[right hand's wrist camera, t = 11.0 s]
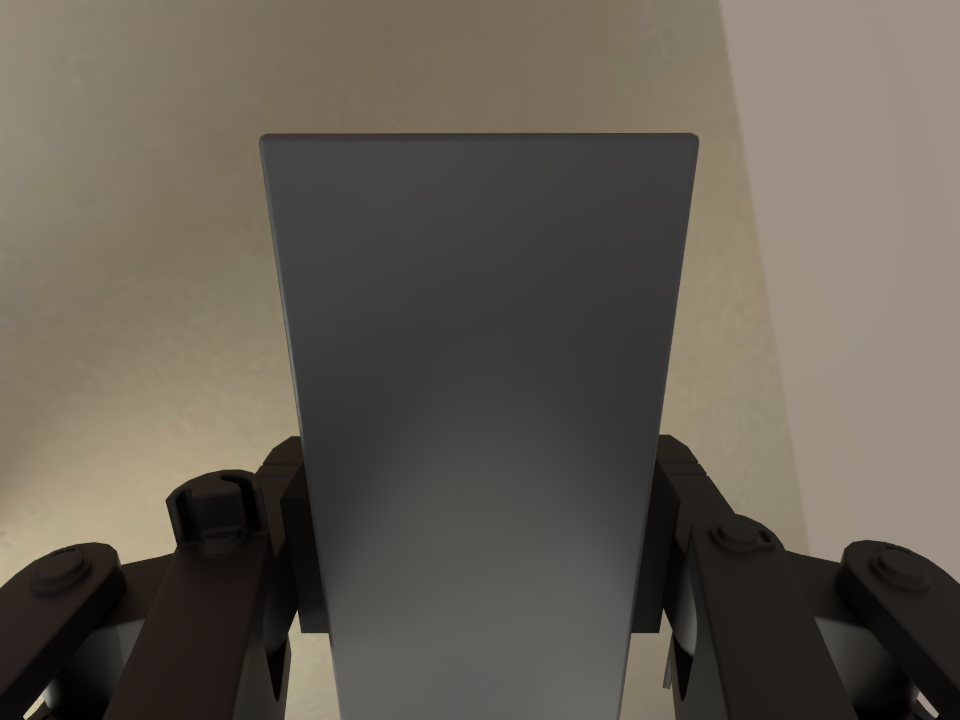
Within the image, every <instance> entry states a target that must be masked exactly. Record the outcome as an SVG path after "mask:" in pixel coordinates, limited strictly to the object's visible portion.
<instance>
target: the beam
mask: <svg viewBox="0 0 960 720" xmlns="http://www.w3.org/2000/svg"><path fill="white" fill-rule="evenodd" d="M259 147H260V154H261V161H262V168H263V175H264V182H265V189H266V196H267V203H268V211H269V218H270V225H271V232H272V239H273V246H274V253H275V260H276V267H277V274H278V281H279V288H280V295H281V302H282V309H283V316H284V323H285V330H286V337H287V344H288V351H289V358H290V365H291V372H292V379H293V386H294V394H295V401H296V408H297V415H298V422H299V429H300V436H301V443H302V450H303V457H304V464H305V471H306V478H307V485H308V492H309V499H310V506H311V513H312V520H313V527H314V534H315V541H316V548H317V555H318V562H319V570H320V577H321V584H322V591H323V598H324V605H325V612H326V619H327V626H328V633H329V640H330V647H331V654H332V661H333V668H334V675H335V682H336V689H337V696H338V703H339V710H340V717H341V720H619V719H620V711H621V704H622V697H623V690H624V682H625V675H626V668H627V661H628V654H629V646H630V639H631V632H632V625H633V617H634V610H635V603H636V596H637V589H638V581H639V574H640V567H641V560H642V552H643V545H644V538H645V531H646V524H647V516H648V509H649V502H650V495H651V487H652V480H653V473H654V466H655V459H656V451H657V444H658V437H659V430H660V422H661V415H662V408H663V401H664V394H665V386H666V379H667V372H668V365H669V357H670V350H671V343H672V336H673V329H674V321H675V314H676V307H677V300H678V292H679V285H680V278H681V271H682V264H683V256H684V249H685V242H686V235H687V227H688V220H689V213H690V206H691V198H692V191H693V184H694V177H695V170H696V162H697V155H698V148H699V139H698V136H696V135H694V134H692V133H393V134H265V135H263V136H261V137H260V141H259Z"/></svg>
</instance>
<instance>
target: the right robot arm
mask: <svg viewBox="0 0 960 720" xmlns="http://www.w3.org/2000/svg"><path fill="white" fill-rule="evenodd" d="M166 504H167V508H168V512H169V516H170V520H171V523H172V527H173V531H174V535H175V539H176V543H177V547H176V550H175V552H174V553H172V554H168V555H165V556H161V557H156V558H152V559H147V560H142V561H138V562H133V563H128V564H124V565H121V563H120V560H119V557H118V554H117V551H116V550H115V549H114V548H112V547H111V546H110V545H109V544H103V543H97V542H92V543H83V544H75V545H72V546H68V547H66V548H61V549H58V550H56V551H53V552H51V553H49V554H47V555H45V556H43V557H41V558H39V559H37V560H35V561H33V562H32V563H31V564H29V565H28V566H26V567H25V568H24V569H22V570H21V571H19V572H18V573H17V574H15V575H14V576H13V577H12V578H11V579H10V580H9V581H8V582H7V583H5V584H4V585H3V586H2V587H1V588H0V720H25V719H24V718H23V716H24V714H25V713H26V712H27V711H28V709H29V708H30V707H31V706H32V705H33V703H34V702H35V701H36V700H37V699H38V697H39V696H40V695H41V694H42V695H43V697H44V700H45V701H44V702H43V703H42V704H41V706H40V707H39V708H38V709H37V711H36V712H35V713H33V714H32V715H31V716H30V717H29V718H28V719H27V720H284V718H285V708H286V699H287V690H288V681H289V672H290V663H291V649H290V642H289V636H288V632H289V629H290V627H291V624H292V622H293V619H294V617H295V614H296V612H297V609H298V615H299V621H300V627H301V633H328V626H327V619H326V612H325V605H324V598H323V591H322V584H321V577H320V570H319V562H318V555H317V548H316V541H315V534H314V527H313V520H312V513H311V506H310V499H309V492H308V485H307V478H306V471H305V464H304V457H303V450H302V443H301V436H291V437H290V438H288V439H287V440H285V441H284V442H282V443H281V444H279V445H278V446H276V447H275V448H273V449H272V451H271V452H270V454H269V455H268V456H267V458H266V459H265V461H264V462H263V466H260V468H259V469H258V471H257V472H256V473H255V474H254V473H252V472H248V471H244V470H221V471H216V472H211V473H207V474H204V475H201V476H199V477H196V478H194V479H191V480H189V481H187V482H186V483H184V484H182V485H181V486H179V487H178V488H176V489H175V490H174V491H173V492H172V493H171V494H170V495H169V497H168V498H167V499H166ZM663 608H664V610H665V613H666V615H667V618H668V620H669V623H670V625H671V628H672V630H673V631H672V636H671V642H670V647H669V653H668V659H667V664H666V670H665V676H664V683H663V688H667V689H670V685H671V680H672V689H673V698H674V707H675V716H676V720H960V584H959V583H958V582H957V581H955V580H954V579H953V578H952V577H951V576H950V575H949V574H948V573H946V572H945V571H944V570H943V569H941V568H940V567H938V566H937V565H936V564H934V563H933V562H931V561H930V560H929V559H927V558H925V557H923V556H921V555H919V554H917V553H915V552H913V551H911V550H909V549H907V548H904V547H901V546H896V545H895V544H890V543H887V542H880V541H871V540H863V541H857V542H852V543H851V544H850V545H849V546H847V547H846V548H845V549H844V552H843V555H842V559H841V562H840V563H838V562H833V561H829V560H824V559H819V558H814V557H810V556H805V555H801V554H797V553H793V552H790V551H786V550H785V549H784V547H783V545H782V543H781V542H780V540H779V539H778V538H777V536H776V535H775V534H774V533H773V532H772V531H770V530H769V529H768V528H766V527H765V526H764V525H762V524H761V523H759V522H757V521H754V520H752V519H750V518H748V517H746V516H742V515H738V514H735V513H734V511H733V510H732V508H731V507H730V506H729V504H728V503H727V501H726V500H725V499H724V497H723V496H722V494H721V493H720V491H719V490H718V489H717V487H716V486H715V484H714V483H713V482H712V480H711V479H710V477H709V476H706V472H705V470H704V469H703V468H702V466H701V465H700V464H698V461H697V459H696V458H695V456H694V455H693V454H692V452H691V451H690V449H689V448H688V447H687V446H686V445H684V444H683V443H681V442H680V441H678V440H677V439H675V438H674V437H672V436H671V435H659V437H658V444H657V451H656V459H655V466H654V473H653V480H652V487H651V495H650V502H649V509H648V516H647V524H646V531H645V538H644V545H643V552H642V560H641V567H640V574H639V581H638V589H637V596H636V603H635V610H634V617H633V625H632V632H631V633H659V630H660V624H661V618H662V612H663ZM919 692H921V693H922V694H923V695H924V696H925V697H926V699H927V700H928V701H929V702H930V704H931V705H932V706H933V707H934V708H935V710H936V711H937V712H938V713H939V715H938V717H937V718H934V717H933V716H932V715H931V714H930V713H929V712H928V711H927V710H926V709H925V708H924V707H923V706H922V704H921V703H920V702H919V701H918V699H917V697H918V694H919Z"/></svg>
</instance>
